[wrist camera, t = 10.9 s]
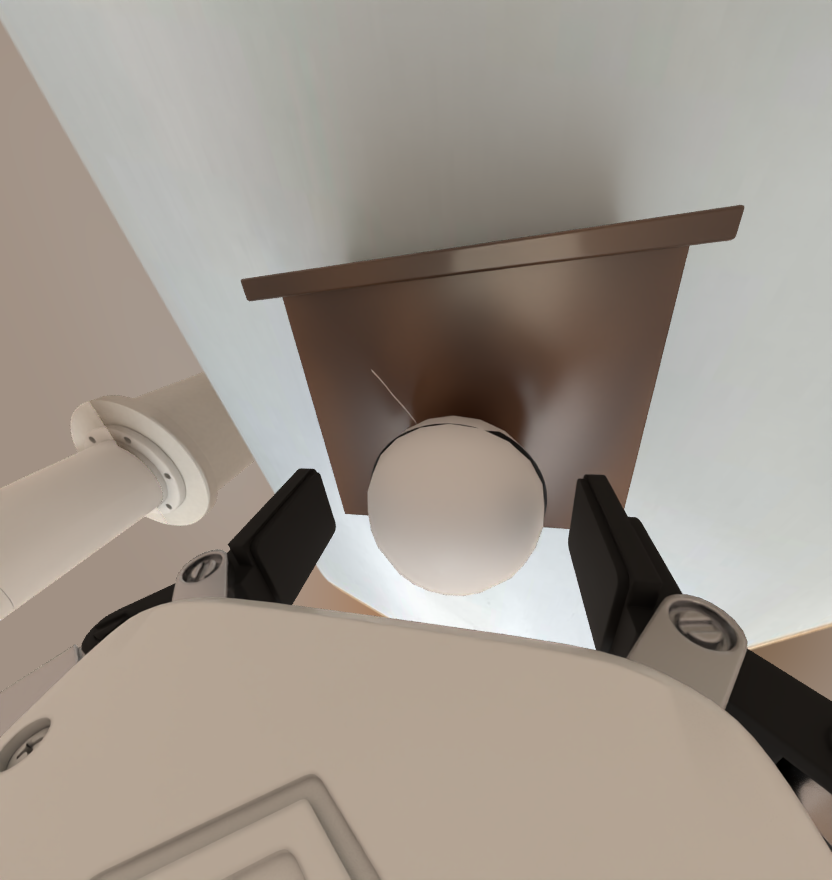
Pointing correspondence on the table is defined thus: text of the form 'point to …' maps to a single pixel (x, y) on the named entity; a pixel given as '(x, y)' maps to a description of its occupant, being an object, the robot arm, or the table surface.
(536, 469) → the cream oval egg shape
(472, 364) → the shelf
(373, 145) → the table surface
